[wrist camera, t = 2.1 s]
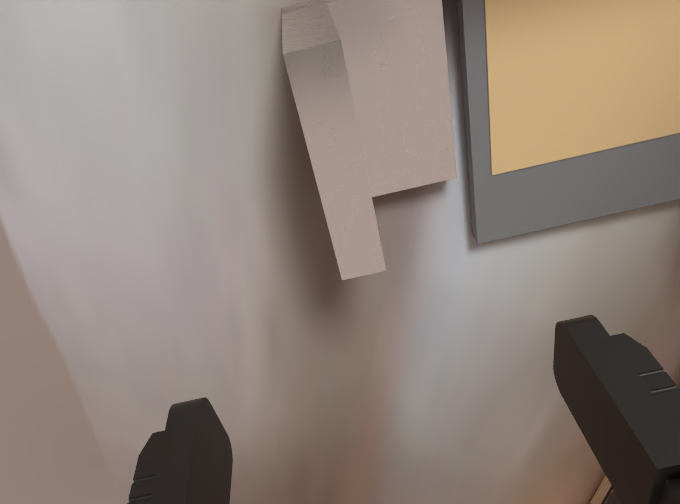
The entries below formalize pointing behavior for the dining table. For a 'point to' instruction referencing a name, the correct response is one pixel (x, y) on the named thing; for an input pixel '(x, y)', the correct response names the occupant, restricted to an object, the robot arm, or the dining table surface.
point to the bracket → (369, 109)
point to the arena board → (568, 110)
